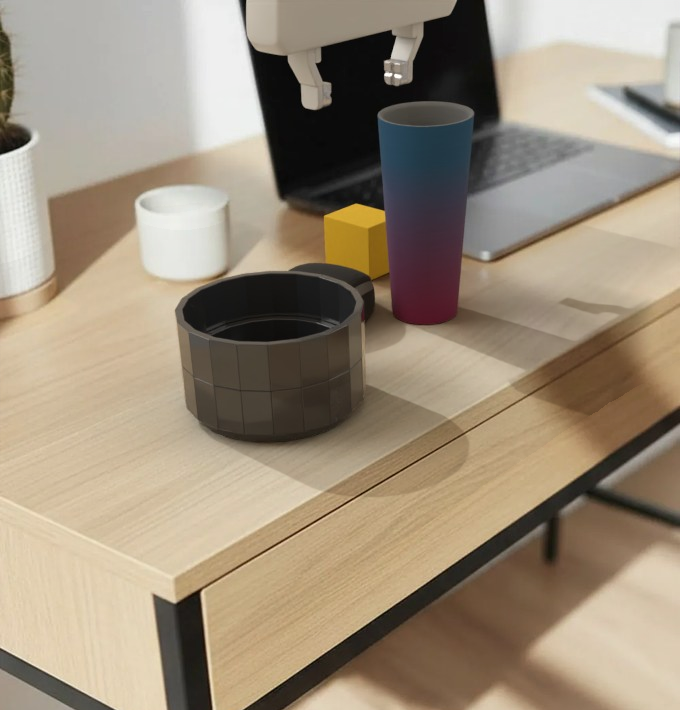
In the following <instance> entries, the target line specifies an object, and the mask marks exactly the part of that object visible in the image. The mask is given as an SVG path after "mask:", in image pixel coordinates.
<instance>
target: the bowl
mask: <svg viewBox="0 0 680 710" xmlns="http://www.w3.org/2000/svg"><path fill="white" fill-rule="evenodd" d="M174 317H175V326H176V334H177V343H178V352H179V360H180V361H179V362H180V368H181V369H180V370H181V376H182V377H181V378H182V386H183V394H184V400H185V401H184V402H185V406H186V409H187V410H188V411H189V413H190V414H192V415H193V417H194V418H195V419H197V421H199V422H200V423H201V424H202V425H203V426H204V427H205V428H207V429H208V430H210V431H212V432H214V433H216V434H218V435H221V436H223V437H227V438H230V439H234V440H239V441H247V442H255V443H277V442H289V441H296V440H297V441H298V440H301V439H306V438H310V437H314V436H316V435H321V434H323V433H325V432H328V431H330V430H332V429H334V428H336V427H338V426H339V425H341V424H343V423H344V422H345V421H346V420H347V419H349V418H350V417H351V415H352V414H353V413H354V412H355V410H356V409H357V408H358V406H359V405H360V404H361V403H362V402H363V401H364V400H365V394H366V390H367V366H366V365H367V363H366V361H367V360H366V325H365V322H366V321H365V319H364V301H363V299H362V297H361V295H360V293H359V291H358V290H357V289H355V288H353V287H352V286H350V285H349V284H347V283H346V282H344V281H341V280H338V279H335V278H332V277H329V276H326V275H321V274H314V273H307V272H300V271H288V270H266V271H254V272H245V273H240V274H235V275H231V276H227V277H222V278H218V279H215V280H212V281H209V282H208V283H205V284H203V285H200V286H198V287H195V288H194V289H193V290H191V291H190V292H189V293H187V294H186V295H184V296H183V297H182V298H181V299H180V300H179V302H178V304H177V305H176V307H175V308H174Z"/></svg>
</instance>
